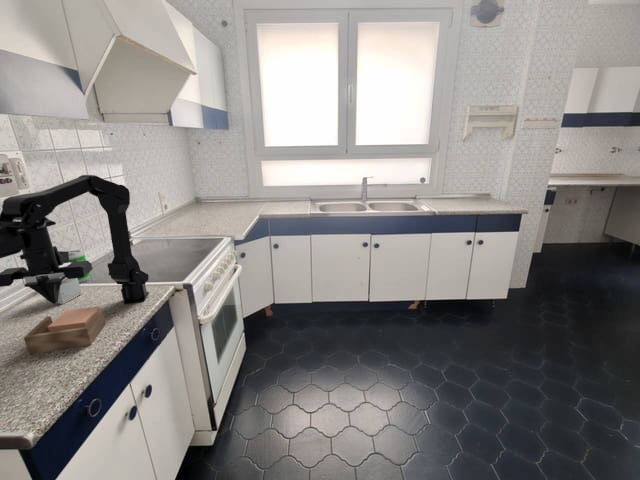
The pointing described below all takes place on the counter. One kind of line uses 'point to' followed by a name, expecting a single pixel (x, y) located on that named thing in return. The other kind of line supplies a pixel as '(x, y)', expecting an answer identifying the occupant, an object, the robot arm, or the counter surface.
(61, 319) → the terracotta block
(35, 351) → the walnut stall
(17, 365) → the counter surface
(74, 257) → the soda can
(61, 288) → the supplement box
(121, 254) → the robot arm
